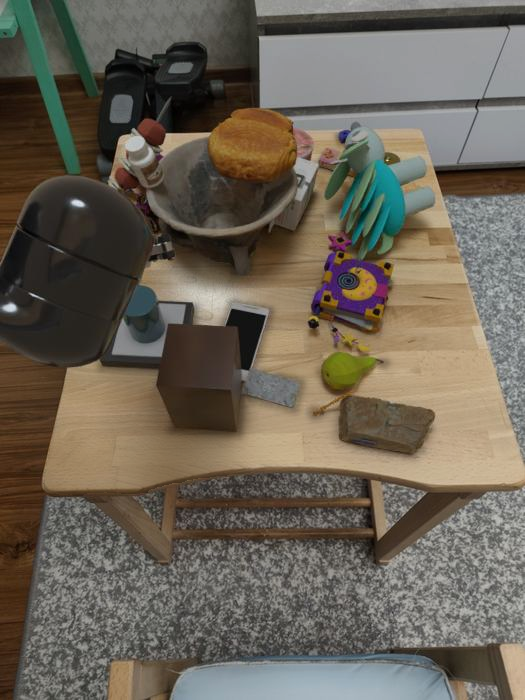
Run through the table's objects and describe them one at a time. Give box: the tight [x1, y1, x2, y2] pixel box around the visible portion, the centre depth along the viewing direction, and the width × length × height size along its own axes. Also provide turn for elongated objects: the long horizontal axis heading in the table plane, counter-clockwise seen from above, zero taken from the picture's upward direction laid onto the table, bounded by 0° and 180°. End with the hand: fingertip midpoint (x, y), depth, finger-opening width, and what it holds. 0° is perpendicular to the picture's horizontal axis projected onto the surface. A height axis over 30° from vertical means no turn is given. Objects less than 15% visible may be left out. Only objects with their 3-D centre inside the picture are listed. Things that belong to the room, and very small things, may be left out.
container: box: [293, 127, 315, 161], centre depth 103 cm, size 10×10×8 cm
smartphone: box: [223, 301, 270, 383], centre depth 84 cm, size 7×16×1 cm, turn 166°
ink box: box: [268, 157, 320, 234], centre depth 97 cm, size 8×5×15 cm
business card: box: [240, 367, 301, 408], centre depth 79 cm, size 9×5×1 cm, turn 74°
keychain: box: [312, 390, 355, 416], centre depth 75 cm, size 8×1×1 cm
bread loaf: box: [207, 107, 297, 183], centre depth 82 cm, size 14×16×8 cm
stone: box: [338, 394, 436, 455], centre depth 73 cm, size 14×7×5 cm, turn 78°
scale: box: [99, 300, 195, 370], centre depth 84 cm, size 14×13×3 cm
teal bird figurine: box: [324, 121, 436, 261], centre depth 91 cm, size 14×26×18 cm
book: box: [307, 231, 396, 352], centre depth 84 cm, size 14×25×12 cm, turn 162°
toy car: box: [120, 188, 159, 223], centre depth 95 cm, size 6×12×5 cm
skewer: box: [107, 96, 173, 193], centre depth 95 cm, size 5×5×30 cm
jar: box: [123, 284, 165, 343], centre depth 79 cm, size 6×6×8 cm
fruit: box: [321, 351, 385, 390], centre depth 79 cm, size 6×6×12 cm
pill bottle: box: [124, 136, 164, 188], centre depth 80 cm, size 4×4×8 cm
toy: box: [317, 147, 357, 178], centre depth 107 cm, size 12×2×5 cm
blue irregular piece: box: [337, 129, 351, 144], centre depth 112 cm, size 9×5×3 cm, turn 40°
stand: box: [155, 323, 243, 432], centre depth 72 cm, size 10×10×15 cm
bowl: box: [145, 136, 298, 278], centre depth 90 cm, size 27×26×15 cm
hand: (113, 258), depth 58 cm, fingers open, 8 cm apart
